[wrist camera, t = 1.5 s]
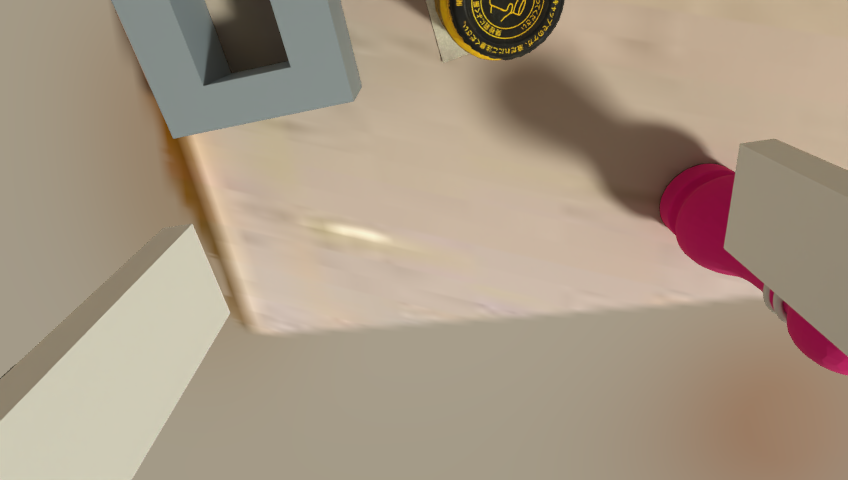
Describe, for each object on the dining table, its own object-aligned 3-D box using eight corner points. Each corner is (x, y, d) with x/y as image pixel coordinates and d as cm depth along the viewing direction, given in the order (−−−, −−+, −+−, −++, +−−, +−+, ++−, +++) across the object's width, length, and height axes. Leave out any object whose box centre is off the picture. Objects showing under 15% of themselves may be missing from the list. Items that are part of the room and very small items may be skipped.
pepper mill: (640, 234, 40) (816, 427, 22) (671, 151, 37) (906, 301, 19) (722, 243, 41) (957, 439, 23) (759, 162, 37) (1068, 317, 20)
